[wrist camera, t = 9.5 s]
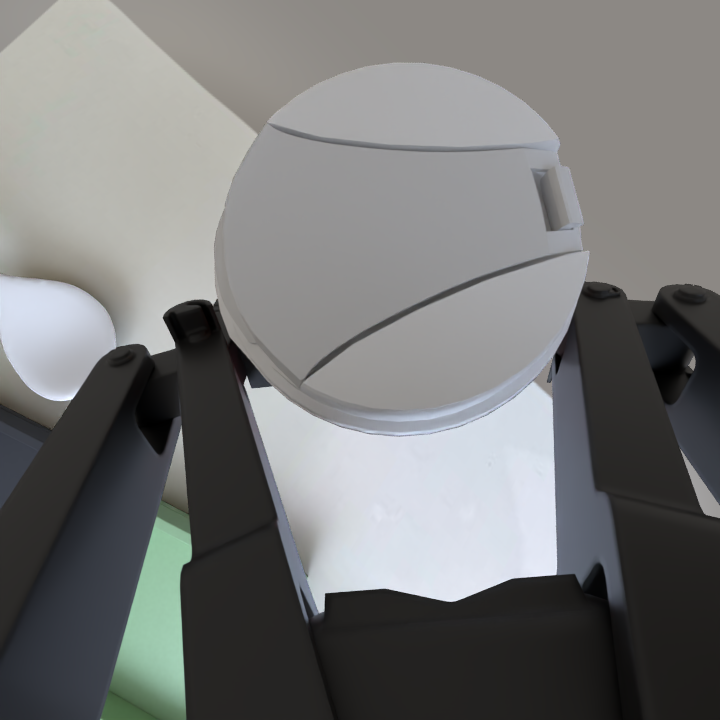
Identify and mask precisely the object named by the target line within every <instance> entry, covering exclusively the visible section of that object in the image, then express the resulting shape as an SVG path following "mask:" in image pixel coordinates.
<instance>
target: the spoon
mask: <svg viewBox="0 0 720 720" xmlns="http://www.w3.org/2000/svg"><path fill="white" fill-rule="evenodd" d="M0 337H1V341H2V345H3V348H4V351H5V353H6V355H7V357H8V359H9V361H10V363H11V364H12V366H13V368H14V369H15V371H16V372H17V374H18V375H19V376H20V378H21V379H22V380H23V382H24V383H25V384H26V385H27V386H28V387H29V388H30V389H31V390H32V391H34V392H35V393H37V394H38V395H40V396H42V397H44V398H47V399H50V400H55V401H66V400H70V399H73V398H74V396H75V395H76V393H77V392H78V390H79V389H80V387H81V386H82V384H83V383H84V381H85V380H86V378H87V377H88V375H89V374H90V372H91V371H92V369H93V368H94V366H95V364H96V363H97V362H98V361H99V360H100V359H101V357H103V356H104V355H106V354H107V353H109V351H111V350H113V349H116V334H115V329H114V325H113V322H112V320H111V318H110V316H109V314H108V312H107V311H106V309H105V308H104V307H103V306H102V305H101V304H100V303H99V302H98V301H97V300H96V299H95V298H94V297H92V296H91V295H90V294H88V293H87V292H85V291H83V290H82V289H80V288H78V287H76V286H73V285H71V284H68V283H64V282H60V281H54V280H46V279H37V278H26V277H16V276H9V275H5V274H2V273H0Z"/></svg>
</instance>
